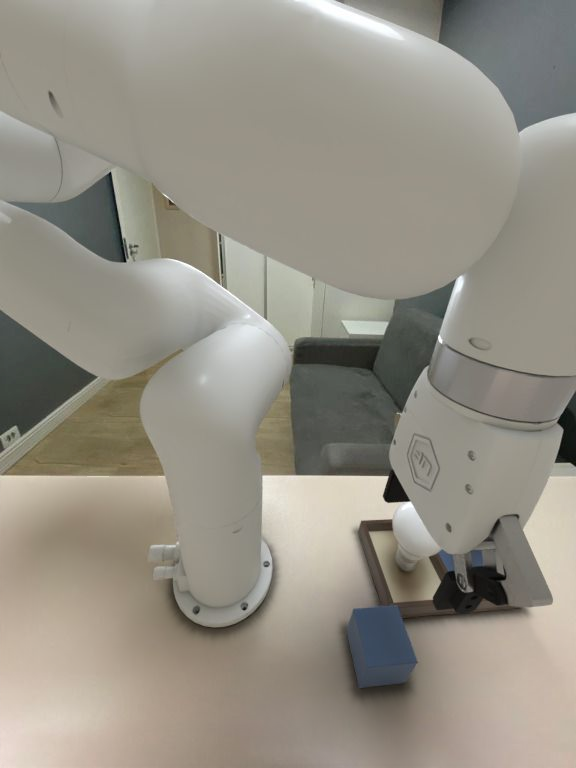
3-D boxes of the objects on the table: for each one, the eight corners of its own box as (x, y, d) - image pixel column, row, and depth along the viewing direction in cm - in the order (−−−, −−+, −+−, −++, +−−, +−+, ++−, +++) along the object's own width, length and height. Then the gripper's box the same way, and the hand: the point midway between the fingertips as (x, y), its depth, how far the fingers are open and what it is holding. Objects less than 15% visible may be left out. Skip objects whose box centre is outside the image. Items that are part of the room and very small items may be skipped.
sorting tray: (386, 619, 37) (390, 608, 36) (357, 531, 47) (360, 520, 46) (521, 608, 39) (530, 597, 38) (466, 525, 49) (472, 515, 48)
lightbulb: (378, 578, 40) (398, 524, 35) (381, 536, 45) (398, 483, 40) (430, 596, 39) (459, 542, 33) (427, 550, 44) (451, 497, 38)
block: (358, 688, 31) (367, 667, 29) (346, 630, 36) (353, 608, 33) (405, 683, 32) (418, 662, 29) (387, 626, 36) (397, 604, 34)
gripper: (383, 327, 26) (351, 474, 35) (566, 487, 11) (432, 676, 20) (464, 329, 27) (414, 471, 36) (731, 477, 12) (536, 661, 21)
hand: (420, 543), depth 28 cm, fingers open, 9 cm apart
